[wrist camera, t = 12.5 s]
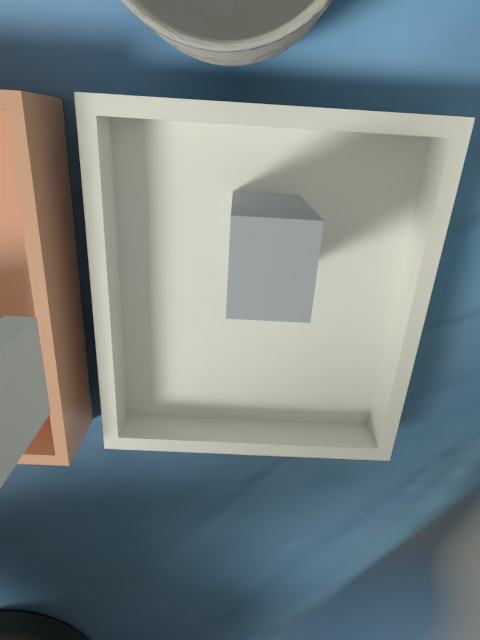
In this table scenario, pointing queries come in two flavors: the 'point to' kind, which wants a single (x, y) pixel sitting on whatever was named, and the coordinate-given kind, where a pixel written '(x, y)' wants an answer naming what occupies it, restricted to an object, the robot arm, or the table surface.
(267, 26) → the teacup
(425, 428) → the table surface
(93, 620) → the table surface
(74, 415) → the orange square tray
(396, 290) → the parts tray
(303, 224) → the pale grey box block
